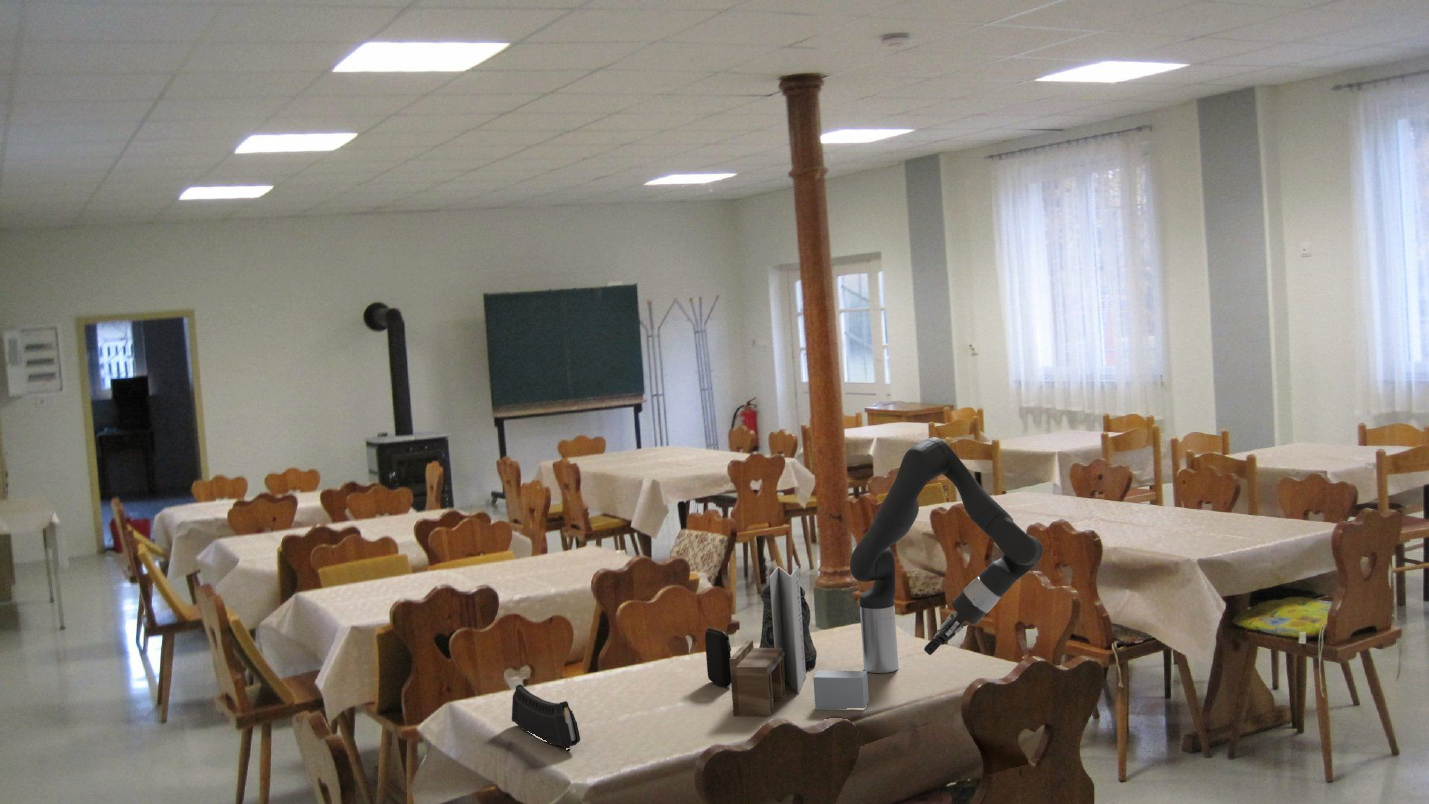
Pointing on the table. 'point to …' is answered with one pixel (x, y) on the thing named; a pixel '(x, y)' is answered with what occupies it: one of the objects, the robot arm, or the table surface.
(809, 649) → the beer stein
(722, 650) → the carrying case or bag
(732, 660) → the cubby
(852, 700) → the grey block
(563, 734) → the magazine
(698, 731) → the table surface
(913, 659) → the table surface
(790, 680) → the brochure
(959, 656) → the table surface
